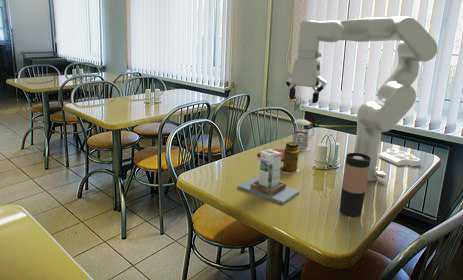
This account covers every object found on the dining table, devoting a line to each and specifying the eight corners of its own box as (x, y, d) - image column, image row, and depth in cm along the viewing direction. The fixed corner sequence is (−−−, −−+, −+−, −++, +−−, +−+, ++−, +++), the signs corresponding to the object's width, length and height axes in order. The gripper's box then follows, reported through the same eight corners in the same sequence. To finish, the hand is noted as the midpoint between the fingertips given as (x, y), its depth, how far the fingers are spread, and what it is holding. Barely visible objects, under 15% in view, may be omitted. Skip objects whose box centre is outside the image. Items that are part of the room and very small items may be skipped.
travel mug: (336, 205, 128) (343, 152, 122) (358, 206, 128) (366, 153, 122) (341, 216, 121) (349, 160, 115) (365, 217, 121) (374, 161, 115)
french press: (287, 145, 193) (291, 98, 185) (309, 145, 194) (314, 98, 186) (292, 151, 183) (297, 102, 176) (315, 151, 185) (320, 102, 177)
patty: (271, 165, 165) (272, 161, 164) (252, 156, 176) (252, 152, 175) (299, 158, 175) (299, 154, 174) (279, 150, 186) (279, 146, 185)
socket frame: (285, 187, 139) (286, 183, 138) (272, 196, 132) (272, 191, 131) (264, 180, 144) (264, 176, 144) (250, 188, 137) (250, 183, 136)
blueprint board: (299, 193, 137) (299, 190, 137) (282, 204, 128) (283, 201, 128) (255, 178, 149) (255, 176, 148) (237, 188, 140) (237, 185, 139)
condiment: (301, 171, 159) (303, 144, 155) (286, 174, 154) (288, 147, 151) (289, 165, 164) (292, 140, 161) (275, 168, 160) (277, 142, 156)
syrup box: (257, 187, 138) (259, 151, 134) (267, 183, 142) (270, 148, 138) (269, 192, 134) (271, 155, 130) (279, 188, 138) (282, 152, 134)
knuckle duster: (373, 156, 182) (396, 153, 187) (402, 169, 166) (425, 166, 171) (374, 150, 181) (397, 147, 186) (403, 162, 165) (427, 159, 170)
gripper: (333, 57, 134) (328, 103, 139) (291, 53, 144) (288, 96, 149) (325, 57, 128) (319, 105, 133) (282, 54, 138) (278, 98, 143)
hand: (303, 100), depth 141 cm, fingers open, 9 cm apart
